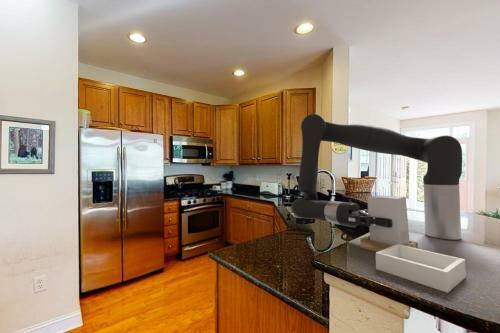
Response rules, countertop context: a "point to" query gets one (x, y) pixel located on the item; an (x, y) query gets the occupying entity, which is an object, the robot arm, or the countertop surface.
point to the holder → (380, 244)
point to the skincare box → (391, 210)
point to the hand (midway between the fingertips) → (397, 221)
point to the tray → (422, 266)
